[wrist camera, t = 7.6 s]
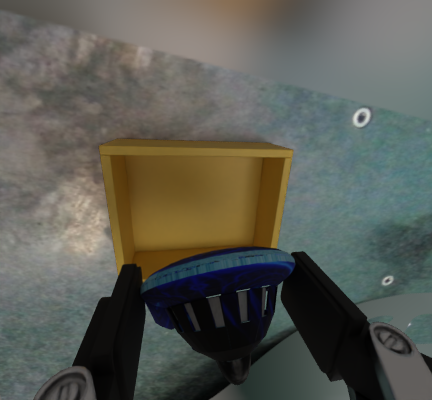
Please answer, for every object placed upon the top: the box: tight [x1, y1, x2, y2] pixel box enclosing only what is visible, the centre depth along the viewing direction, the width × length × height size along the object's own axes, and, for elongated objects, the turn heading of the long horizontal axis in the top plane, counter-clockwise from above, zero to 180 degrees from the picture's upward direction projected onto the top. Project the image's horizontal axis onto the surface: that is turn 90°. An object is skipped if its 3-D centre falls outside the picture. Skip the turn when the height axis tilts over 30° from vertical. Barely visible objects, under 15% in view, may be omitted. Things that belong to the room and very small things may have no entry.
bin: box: [99, 139, 293, 282], centre depth 18 cm, size 11×13×5 cm
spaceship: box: [140, 246, 296, 385], centre depth 9 cm, size 7×6×5 cm
